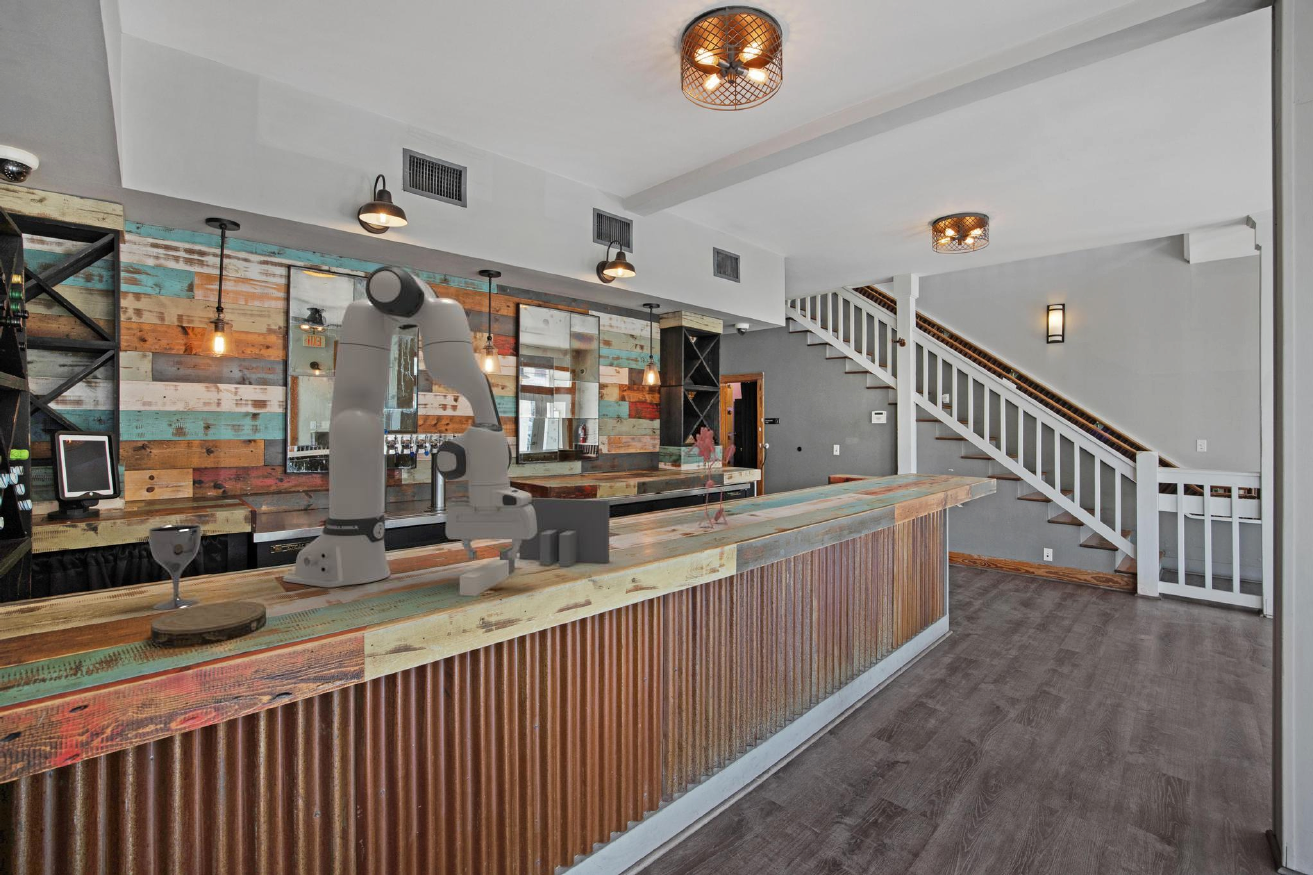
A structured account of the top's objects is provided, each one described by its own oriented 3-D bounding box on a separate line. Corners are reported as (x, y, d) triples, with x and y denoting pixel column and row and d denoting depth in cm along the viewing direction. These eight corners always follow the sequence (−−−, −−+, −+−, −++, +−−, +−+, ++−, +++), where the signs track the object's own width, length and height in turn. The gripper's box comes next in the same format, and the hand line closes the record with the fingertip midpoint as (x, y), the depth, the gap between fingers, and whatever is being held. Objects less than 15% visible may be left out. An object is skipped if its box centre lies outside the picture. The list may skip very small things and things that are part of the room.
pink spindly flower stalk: (741, 522, 226) (740, 426, 225) (702, 531, 205) (700, 426, 205) (706, 519, 235) (705, 427, 235) (665, 527, 215) (664, 427, 215)
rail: (459, 595, 128) (459, 566, 128) (505, 570, 149) (505, 546, 149) (475, 596, 127) (475, 567, 127) (519, 571, 149) (519, 546, 149)
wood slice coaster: (124, 648, 97) (124, 629, 97) (199, 617, 113) (198, 601, 113) (225, 649, 97) (225, 630, 97) (285, 617, 113) (285, 601, 113)
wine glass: (159, 613, 115) (159, 532, 114) (142, 606, 119) (141, 528, 118) (208, 602, 121) (208, 526, 121) (190, 596, 126) (190, 523, 125)
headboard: (509, 563, 157) (509, 501, 156) (522, 557, 165) (522, 497, 164) (600, 568, 152) (600, 504, 152) (609, 561, 160) (609, 500, 160)
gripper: (438, 499, 134) (441, 562, 135) (528, 498, 131) (530, 562, 131) (452, 495, 140) (455, 555, 141) (538, 494, 137) (540, 555, 138)
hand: (492, 558), depth 136 cm, fingers open, 8 cm apart
